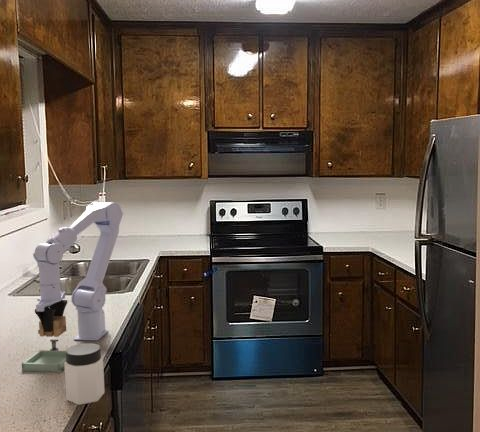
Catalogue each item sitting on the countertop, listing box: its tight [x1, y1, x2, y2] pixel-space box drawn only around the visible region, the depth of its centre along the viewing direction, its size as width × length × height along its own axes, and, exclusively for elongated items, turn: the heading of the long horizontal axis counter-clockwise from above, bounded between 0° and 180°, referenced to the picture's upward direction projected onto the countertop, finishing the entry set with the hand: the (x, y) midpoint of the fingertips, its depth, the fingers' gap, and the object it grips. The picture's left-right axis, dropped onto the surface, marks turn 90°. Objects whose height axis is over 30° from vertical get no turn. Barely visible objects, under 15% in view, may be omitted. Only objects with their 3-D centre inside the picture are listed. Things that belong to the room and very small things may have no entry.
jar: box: [64, 342, 105, 406], centre depth 130 cm, size 9×8×12 cm
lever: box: [49, 339, 59, 351], centre depth 161 cm, size 2×2×3 cm
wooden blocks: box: [37, 315, 67, 338], centre depth 161 cm, size 6×7×4 cm
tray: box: [21, 349, 66, 373], centre depth 151 cm, size 10×11×2 cm
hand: (52, 328), depth 161 cm, fingers closed on wooden blocks, 6 cm apart
